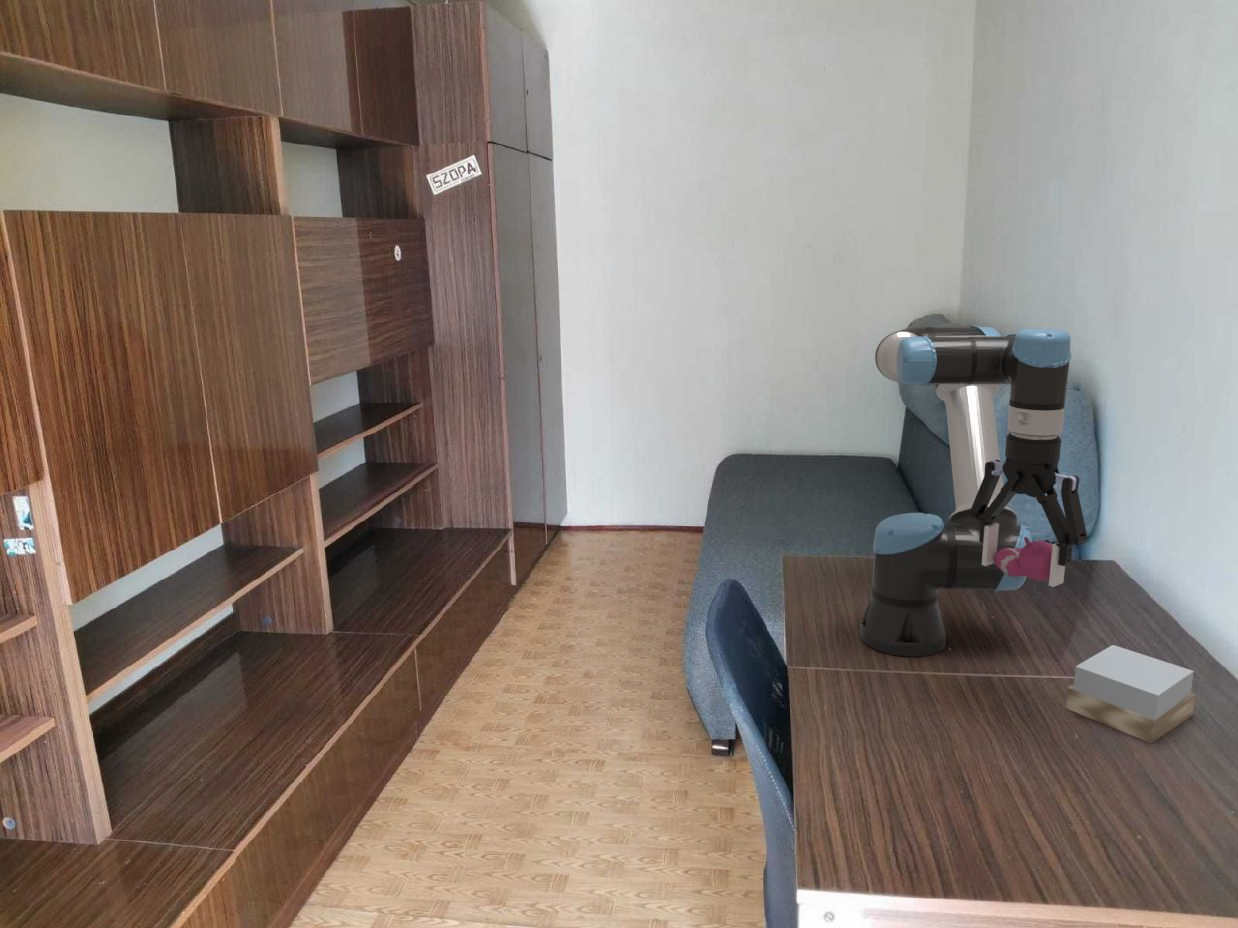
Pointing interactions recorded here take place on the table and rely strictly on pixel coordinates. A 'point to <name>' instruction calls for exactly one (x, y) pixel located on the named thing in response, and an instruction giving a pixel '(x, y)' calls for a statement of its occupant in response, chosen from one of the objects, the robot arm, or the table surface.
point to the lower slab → (1129, 715)
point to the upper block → (1133, 681)
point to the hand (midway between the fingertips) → (1021, 573)
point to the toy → (1026, 560)
